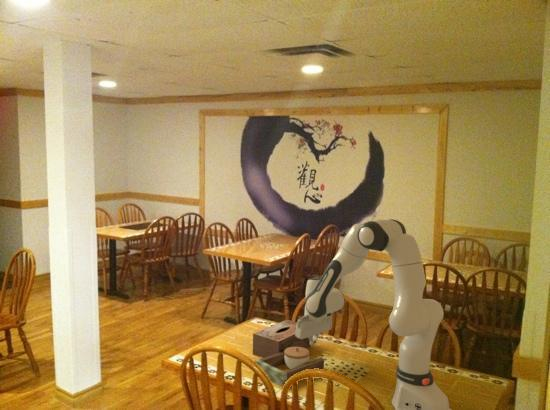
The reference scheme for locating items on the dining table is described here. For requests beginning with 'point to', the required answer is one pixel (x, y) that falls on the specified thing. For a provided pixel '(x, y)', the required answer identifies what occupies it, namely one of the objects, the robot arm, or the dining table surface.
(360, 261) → the robot arm
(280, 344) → the tissue box cover
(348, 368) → the dining table surface
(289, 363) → the lidded jar
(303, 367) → the u-shaped frame
